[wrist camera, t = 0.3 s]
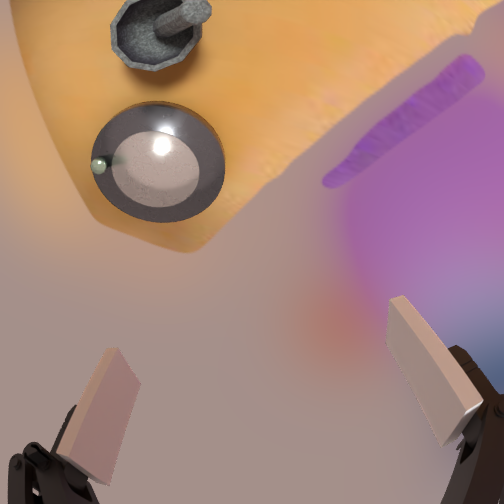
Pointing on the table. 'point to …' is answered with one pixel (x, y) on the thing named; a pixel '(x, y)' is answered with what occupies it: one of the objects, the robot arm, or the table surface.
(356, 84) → the table surface
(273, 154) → the table surface
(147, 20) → the mortar and pestle
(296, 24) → the table surface
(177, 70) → the table surface
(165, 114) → the base
